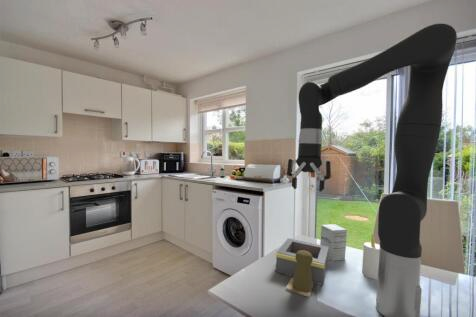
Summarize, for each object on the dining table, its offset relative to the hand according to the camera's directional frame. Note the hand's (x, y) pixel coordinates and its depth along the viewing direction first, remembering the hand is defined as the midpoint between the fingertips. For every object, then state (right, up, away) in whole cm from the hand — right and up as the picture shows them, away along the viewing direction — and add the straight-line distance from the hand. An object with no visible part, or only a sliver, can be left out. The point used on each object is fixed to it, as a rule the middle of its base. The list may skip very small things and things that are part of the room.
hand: (307, 189), depth 79 cm
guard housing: (0, -30, +6) cm, 31 cm away
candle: (+25, -32, +4) cm, 40 cm away
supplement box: (+16, -31, +18) cm, 39 cm away
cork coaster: (-4, -30, -6) cm, 31 cm away
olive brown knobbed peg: (-4, -30, -7) cm, 31 cm away
